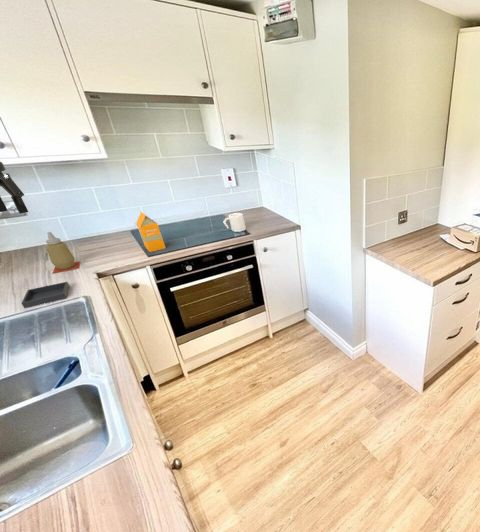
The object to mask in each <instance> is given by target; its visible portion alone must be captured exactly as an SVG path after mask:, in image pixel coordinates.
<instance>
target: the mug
mask: <svg viewBox="0 0 480 532" xmlns="http://www.w3.org/2000/svg"><path fill="white" fill-rule="evenodd" d="M227 221H229V224H230V227H229V225H228V224H227ZM222 223H223V224H224V227H226V229H229V228H230V229H231V231H232V232H235V233H239V232H243V231H246V228H247V227H246V223H245V217H244V214H243V213H241V212H235V213H233V212H232V213H229V214H228V217H225V218H224V219H223V221H222Z"/></svg>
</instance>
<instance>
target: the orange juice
mask: <svg viewBox="0 0 480 532" xmlns="http://www.w3.org/2000/svg"><path fill="white" fill-rule="evenodd" d="M135 224H136V226H137V230H138V232H139V235H140V237H141V240H142V242H143V244H144V248H145V249H146V250H147V251H148V252H149V253H152V252H156V251H160V250H164V249H166V245H165V242H164V239H163V236H162V233H161V230H160V227H159V224H158V223H157V222H156V221H155V220H154V219H151V218H150V217H149V216H147V215H146V214H145V213H143V211H141V212H140V213H139V216H138V217H137V220H136V222H135Z"/></svg>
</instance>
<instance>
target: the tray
mask: <svg viewBox="0 0 480 532" xmlns="http://www.w3.org/2000/svg"><path fill="white" fill-rule="evenodd" d="M70 287H71V286H70V284H69V282H68V281H63V282H58V283H54V284H50V285H45V286H39V287H35V288H31V289H27V291H26V293H25V295H24V297H23V299H22V301H21V305H22V307H23V309H28V308H32V307H36V306H41V305H44V303H45V304H49V303H52V302H57V301H61V300H66V299H67V298H68V294H69V291H70ZM40 304H41V305H40ZM27 307H28V308H27Z"/></svg>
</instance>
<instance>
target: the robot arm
mask: <svg viewBox="0 0 480 532" xmlns="http://www.w3.org/2000/svg"><path fill="white" fill-rule="evenodd" d="M6 170H7V169H6V167H5V166H4V163H3V162H2V161H0V187H1V188H2V189H3V190H4V191H6V192H7V193H8V194H9V195H10V196H11V197H10V199H11V200H12V202H13V204H14V206H15V208H16V210H17V211H18V214H25V213H29V210H28V208H27V206H26V204H25V202H24V199H23V198H22V197H24V196H25V194H24V192H23V191H22V190H21V188H19V186H18V184H16V182H15V181H14V180H13V179H12V177H11V175H10V174H9V173H3V172H4V171H6ZM3 212H9V211H8V208H7V206H6V205H5V202H4V200H3V198H2V196H0V213H3Z"/></svg>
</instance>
